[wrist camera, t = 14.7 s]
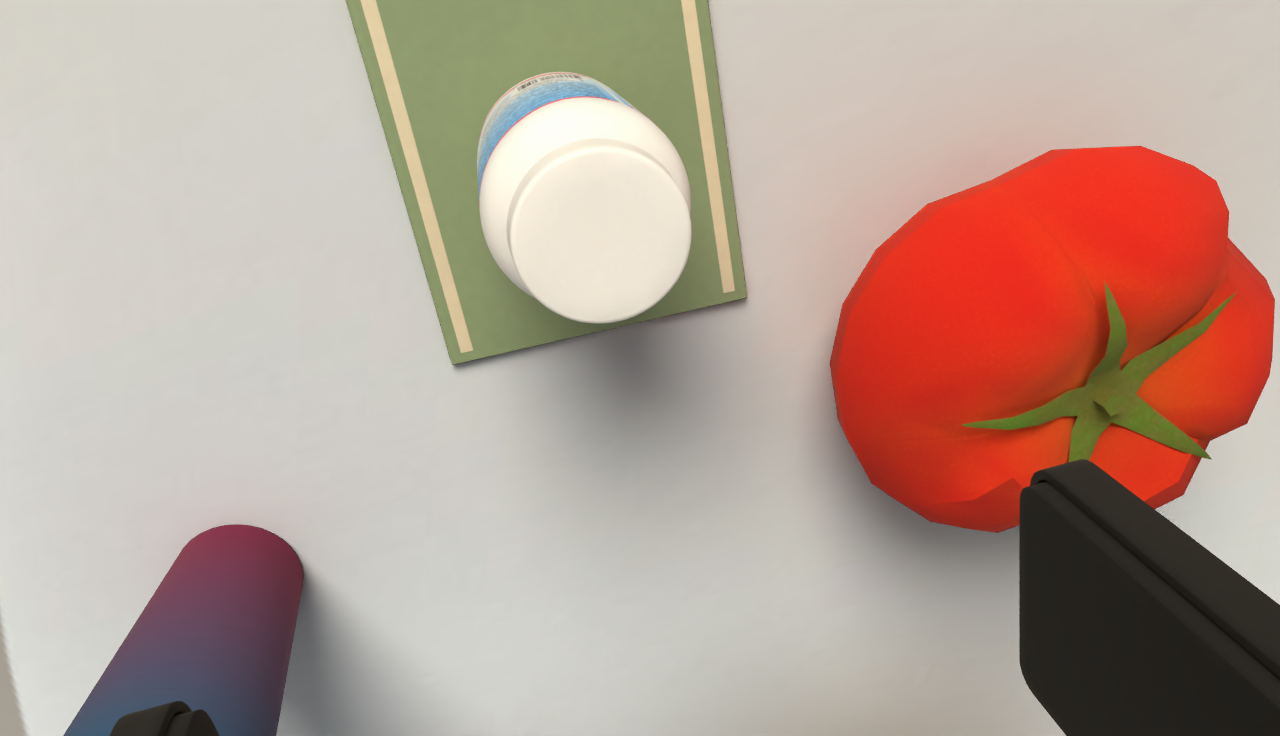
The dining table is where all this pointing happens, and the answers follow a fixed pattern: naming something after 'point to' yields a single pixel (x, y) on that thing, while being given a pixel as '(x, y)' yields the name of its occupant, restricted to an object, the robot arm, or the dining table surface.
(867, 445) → the tomato
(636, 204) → the pill bottle
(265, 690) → the cup
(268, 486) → the dining table surface
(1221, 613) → the robot arm
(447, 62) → the napkin
